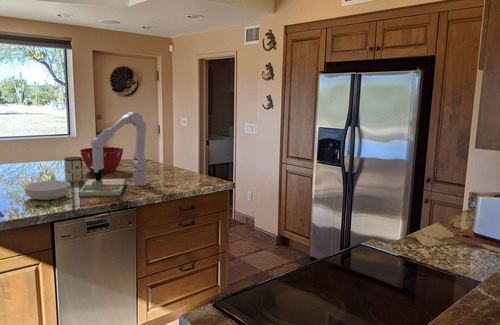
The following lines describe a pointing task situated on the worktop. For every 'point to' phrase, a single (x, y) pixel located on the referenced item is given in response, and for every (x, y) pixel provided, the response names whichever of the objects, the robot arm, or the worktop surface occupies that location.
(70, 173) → the coffee can
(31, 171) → the worktop surface
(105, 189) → the terracotta tile
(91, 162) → the mixing bowl
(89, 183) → the birch board
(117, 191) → the box
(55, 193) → the serving bowl
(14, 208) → the worktop surface
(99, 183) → the slate tile
